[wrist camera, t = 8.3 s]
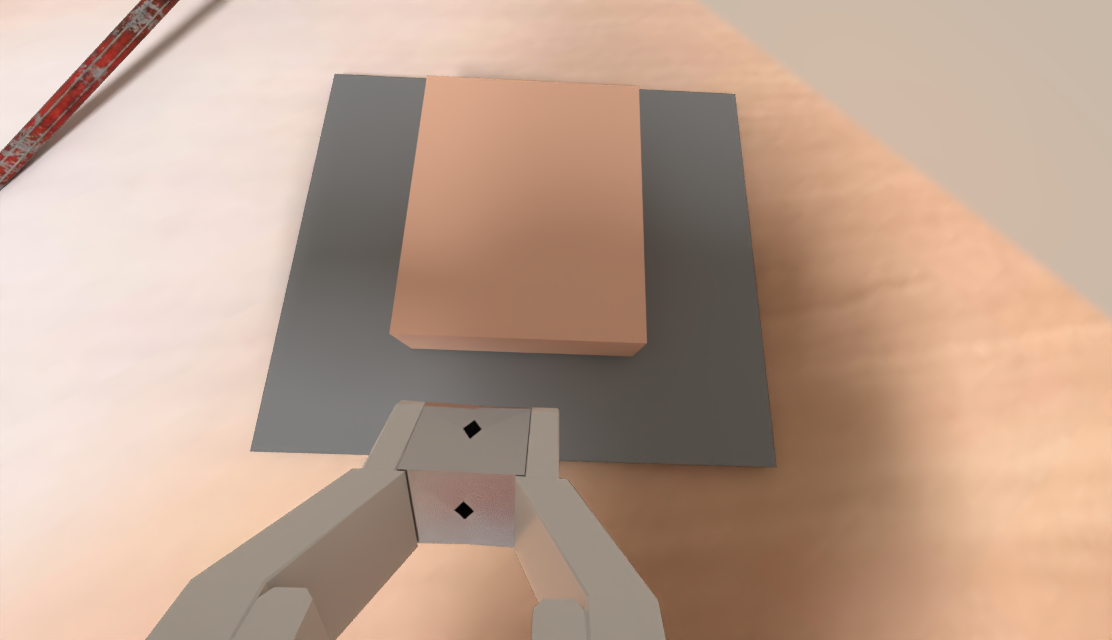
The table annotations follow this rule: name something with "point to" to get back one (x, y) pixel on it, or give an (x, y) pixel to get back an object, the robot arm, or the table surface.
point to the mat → (514, 377)
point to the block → (524, 220)
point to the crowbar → (81, 85)
